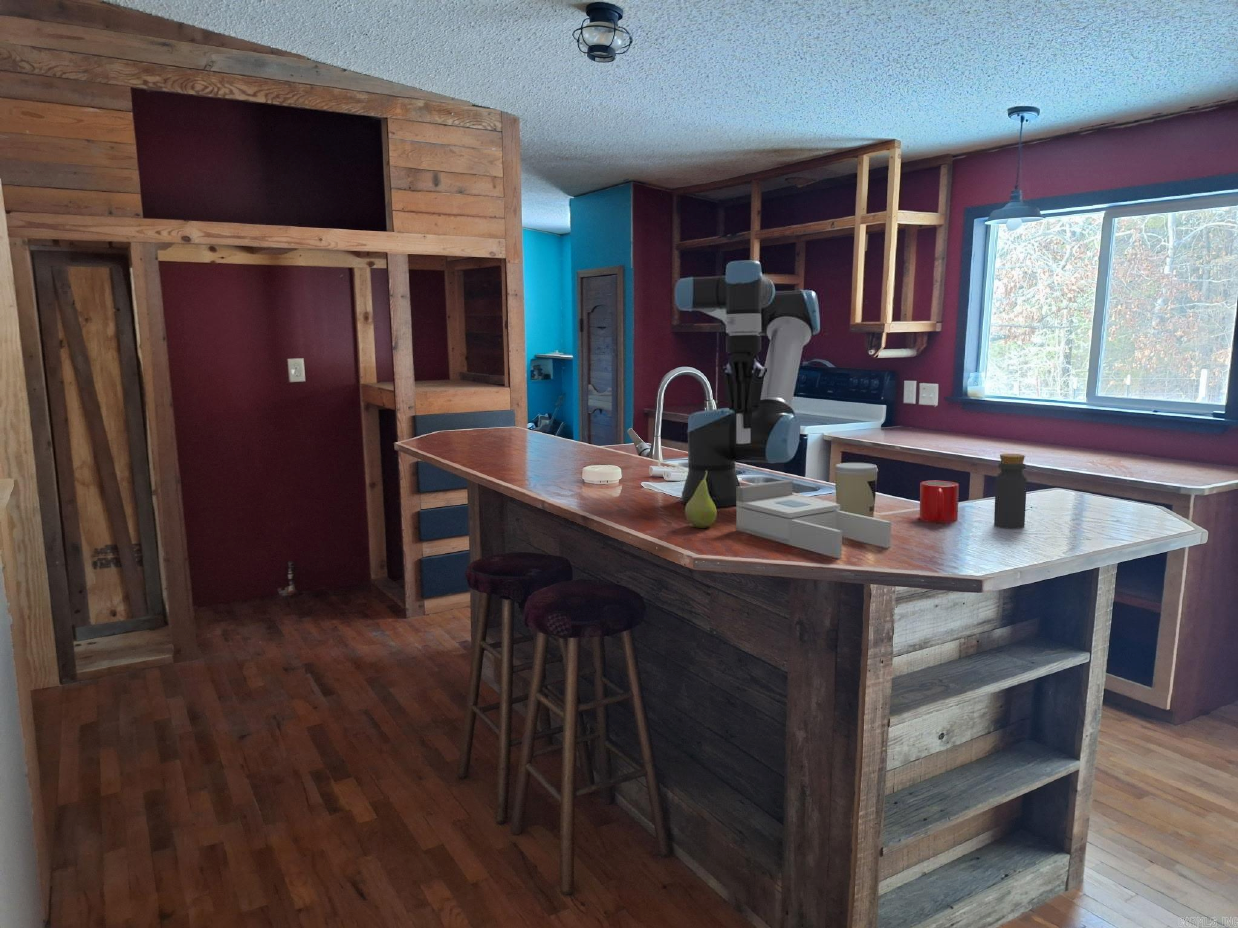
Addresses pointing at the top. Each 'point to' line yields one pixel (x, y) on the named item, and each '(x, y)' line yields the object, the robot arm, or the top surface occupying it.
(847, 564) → the top surface
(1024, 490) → the bottle
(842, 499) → the coffee cup
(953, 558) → the top surface
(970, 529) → the top surface
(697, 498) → the fruit
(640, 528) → the top surface
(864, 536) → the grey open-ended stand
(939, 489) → the mug
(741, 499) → the lid
